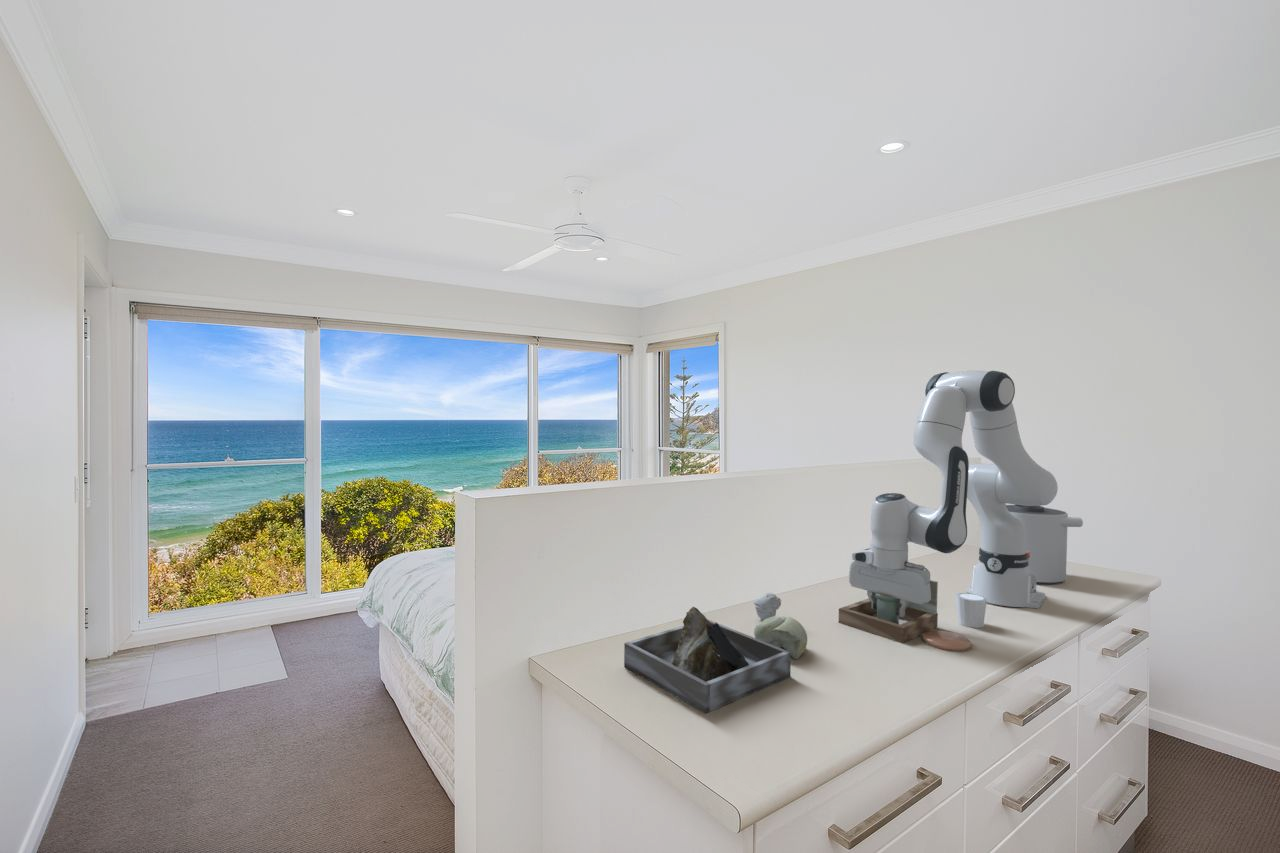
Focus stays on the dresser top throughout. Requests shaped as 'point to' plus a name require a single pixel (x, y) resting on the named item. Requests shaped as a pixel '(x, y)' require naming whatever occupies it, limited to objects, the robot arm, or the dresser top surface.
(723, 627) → the display tray
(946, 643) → the pink round part
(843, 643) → the dresser top surface
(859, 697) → the dresser top surface
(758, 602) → the grey rock chunk
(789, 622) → the seashell
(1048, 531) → the grey cooking pot
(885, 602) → the plant pot
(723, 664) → the mineral specimen
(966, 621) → the shot glass
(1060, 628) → the dresser top surface
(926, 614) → the frame
